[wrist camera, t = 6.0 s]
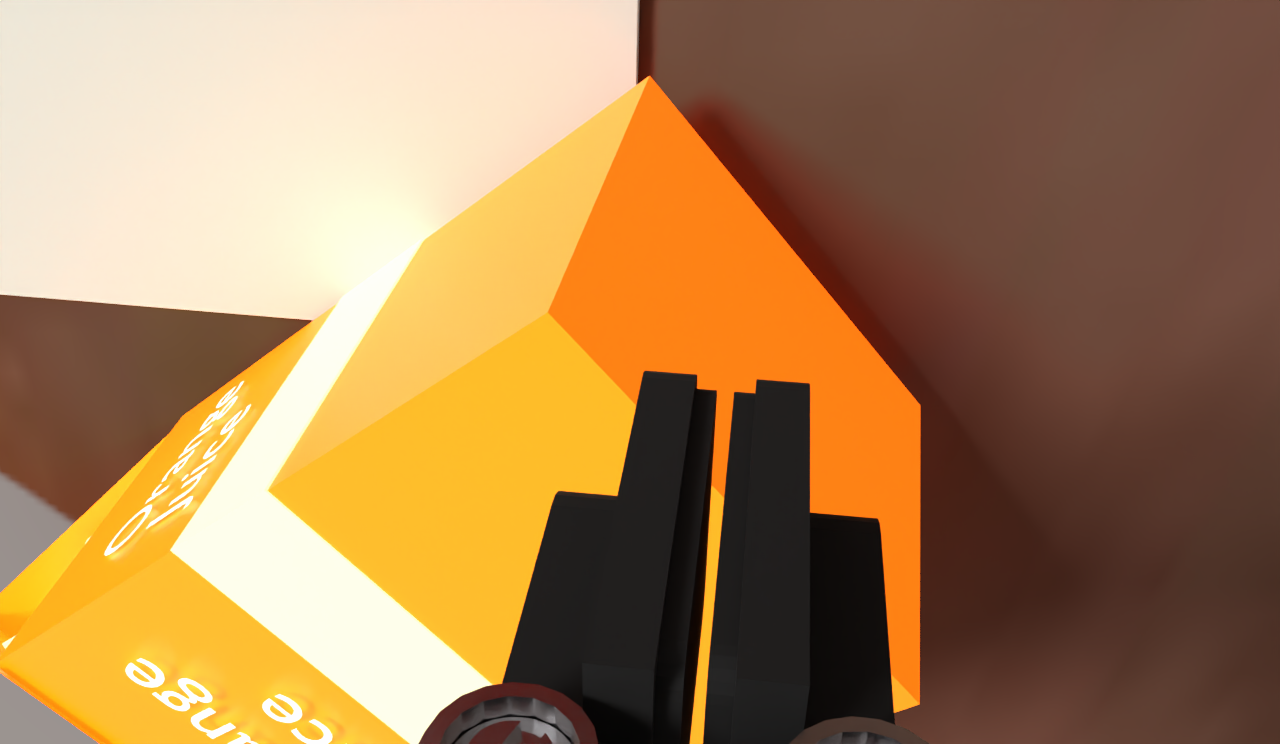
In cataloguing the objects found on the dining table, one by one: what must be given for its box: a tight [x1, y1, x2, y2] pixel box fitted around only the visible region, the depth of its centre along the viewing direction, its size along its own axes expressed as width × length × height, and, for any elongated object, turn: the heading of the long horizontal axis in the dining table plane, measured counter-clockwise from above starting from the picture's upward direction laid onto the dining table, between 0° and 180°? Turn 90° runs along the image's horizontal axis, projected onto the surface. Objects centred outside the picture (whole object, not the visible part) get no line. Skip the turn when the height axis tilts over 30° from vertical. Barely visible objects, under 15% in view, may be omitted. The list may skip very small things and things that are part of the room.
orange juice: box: [0, 76, 920, 744], centre depth 25 cm, size 8×9×20 cm
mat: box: [0, 0, 640, 320], centre depth 23 cm, size 17×13×1 cm
